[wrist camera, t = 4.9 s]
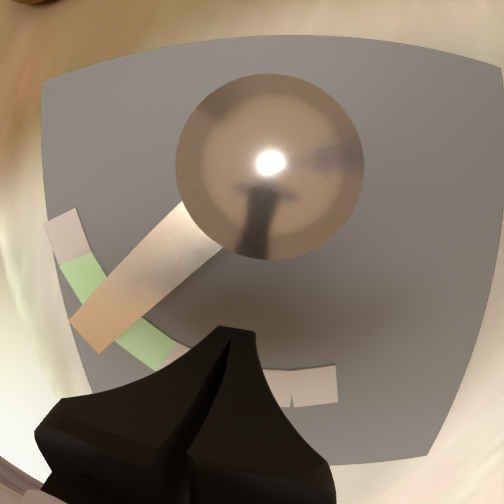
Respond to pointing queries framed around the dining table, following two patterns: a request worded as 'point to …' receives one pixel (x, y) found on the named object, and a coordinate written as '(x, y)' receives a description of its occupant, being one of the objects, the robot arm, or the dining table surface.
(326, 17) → the dining table surface
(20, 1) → the mug
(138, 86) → the tuner board
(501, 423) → the dining table surface
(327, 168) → the tuning dial
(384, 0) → the dining table surface
